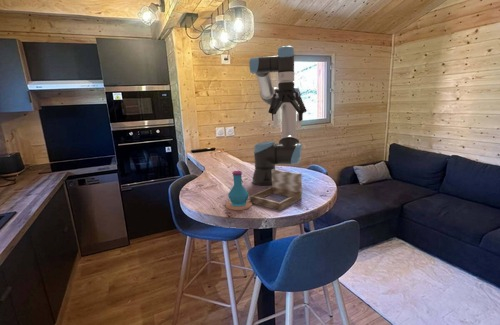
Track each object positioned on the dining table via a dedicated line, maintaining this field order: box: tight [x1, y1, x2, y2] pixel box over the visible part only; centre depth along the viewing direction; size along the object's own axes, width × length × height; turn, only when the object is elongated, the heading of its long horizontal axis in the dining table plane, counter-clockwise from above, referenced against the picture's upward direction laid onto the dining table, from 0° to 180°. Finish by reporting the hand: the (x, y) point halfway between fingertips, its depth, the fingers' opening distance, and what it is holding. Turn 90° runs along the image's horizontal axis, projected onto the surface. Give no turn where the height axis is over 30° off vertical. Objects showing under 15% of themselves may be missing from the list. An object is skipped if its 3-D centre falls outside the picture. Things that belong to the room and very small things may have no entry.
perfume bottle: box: [227, 170, 250, 206], centre depth 121 cm, size 9×9×15 cm
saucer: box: [225, 199, 253, 212], centre depth 123 cm, size 12×12×1 cm
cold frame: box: [249, 168, 303, 211], centre depth 126 cm, size 17×18×12 cm
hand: (286, 127), depth 131 cm, fingers open, 13 cm apart
